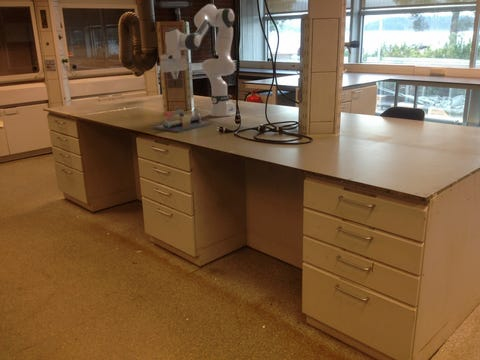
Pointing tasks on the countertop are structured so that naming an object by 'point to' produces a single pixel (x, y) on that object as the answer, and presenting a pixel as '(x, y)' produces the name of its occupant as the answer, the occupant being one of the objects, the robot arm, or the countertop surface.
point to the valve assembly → (182, 123)
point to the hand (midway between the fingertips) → (175, 78)
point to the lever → (175, 112)
